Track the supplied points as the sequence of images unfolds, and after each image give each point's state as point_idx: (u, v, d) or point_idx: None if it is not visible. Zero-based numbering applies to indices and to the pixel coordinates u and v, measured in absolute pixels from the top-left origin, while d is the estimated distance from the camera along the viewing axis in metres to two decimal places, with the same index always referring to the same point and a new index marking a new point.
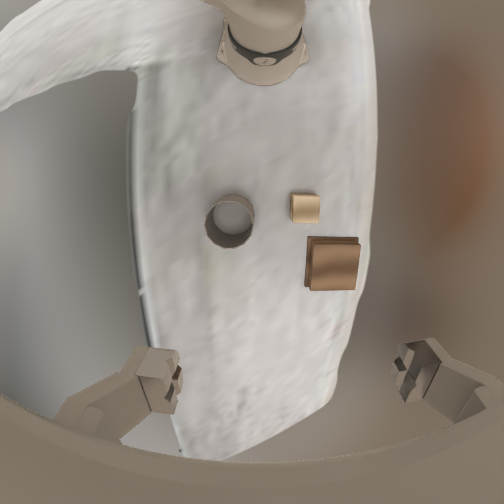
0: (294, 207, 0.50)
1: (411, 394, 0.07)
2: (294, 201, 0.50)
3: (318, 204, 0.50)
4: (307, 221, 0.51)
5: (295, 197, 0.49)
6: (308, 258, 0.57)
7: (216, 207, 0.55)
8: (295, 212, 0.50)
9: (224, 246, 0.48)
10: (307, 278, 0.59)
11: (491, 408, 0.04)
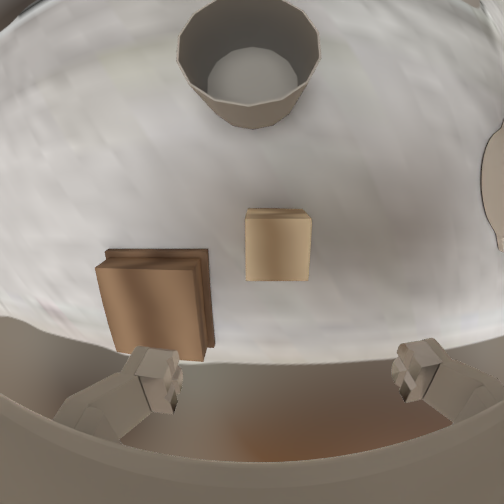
0: (284, 221, 0.20)
1: (411, 394, 0.07)
2: (298, 221, 0.20)
3: (290, 277, 0.22)
4: (248, 254, 0.21)
5: (308, 223, 0.20)
6: (160, 254, 0.26)
7: (270, 53, 0.20)
8: (271, 223, 0.20)
9: (184, 40, 0.13)
10: (121, 255, 0.26)
11: (491, 408, 0.04)
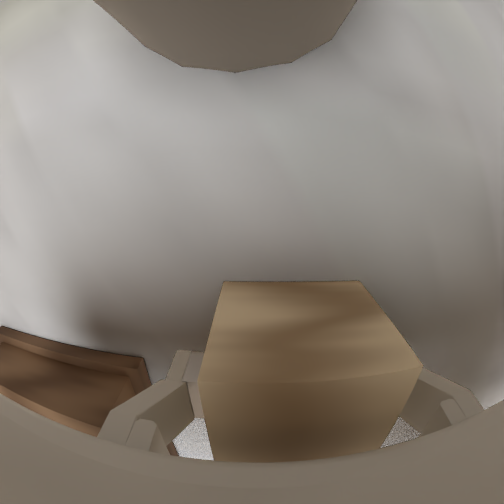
0: (339, 386, 0.05)
1: None
2: (383, 377, 0.05)
3: None
4: (220, 448, 0.06)
5: (409, 378, 0.05)
6: (62, 357, 0.10)
7: None
8: (293, 394, 0.05)
9: None
10: (12, 343, 0.10)
11: (491, 408, 0.04)
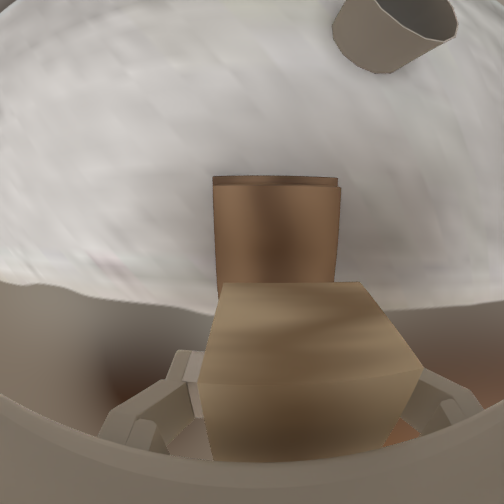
0: (340, 388, 0.05)
1: None
2: (383, 378, 0.05)
3: None
4: (220, 450, 0.06)
5: (410, 380, 0.05)
6: (287, 179, 0.23)
7: None
8: (293, 396, 0.05)
9: None
10: (235, 180, 0.24)
11: (491, 408, 0.04)
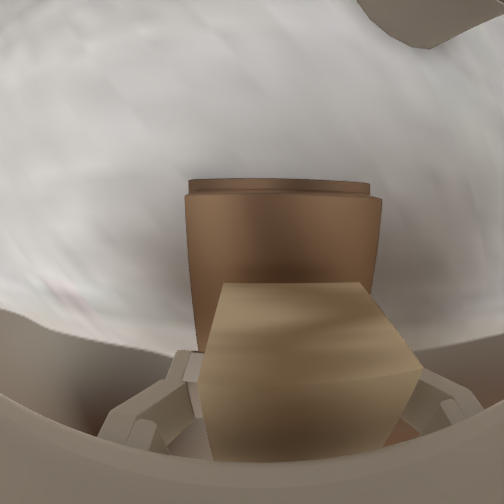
0: (339, 389, 0.05)
1: None
2: (383, 379, 0.05)
3: None
4: (220, 450, 0.06)
5: (410, 380, 0.05)
6: (299, 184, 0.16)
7: None
8: (293, 396, 0.05)
9: None
10: (222, 185, 0.16)
11: (491, 408, 0.04)
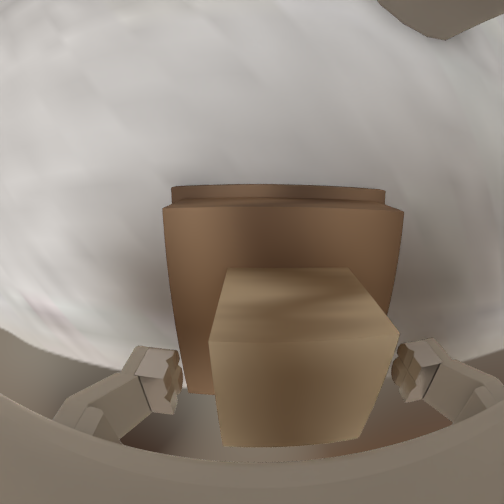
0: (326, 347, 0.06)
1: (411, 394, 0.07)
2: (364, 341, 0.06)
3: (323, 439, 0.08)
4: (225, 411, 0.07)
5: (388, 344, 0.06)
6: (302, 191, 0.13)
7: None
8: (288, 353, 0.06)
9: None
10: (210, 193, 0.13)
11: (491, 408, 0.04)
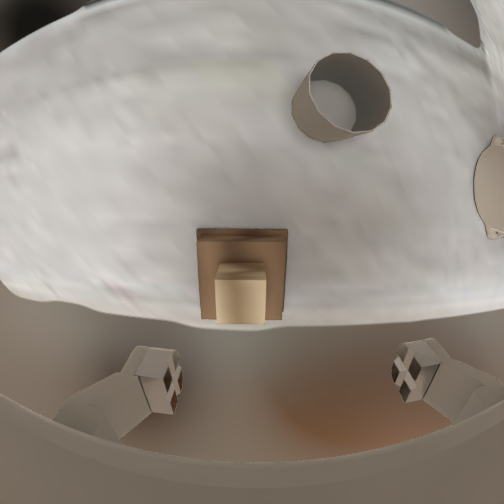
0: (244, 282, 0.27)
1: (411, 394, 0.07)
2: (255, 281, 0.27)
3: (251, 321, 0.28)
4: (218, 304, 0.27)
5: (263, 283, 0.27)
6: (250, 232, 0.34)
7: (337, 87, 0.28)
8: (234, 283, 0.27)
9: (308, 77, 0.21)
10: (213, 233, 0.33)
11: (491, 408, 0.04)
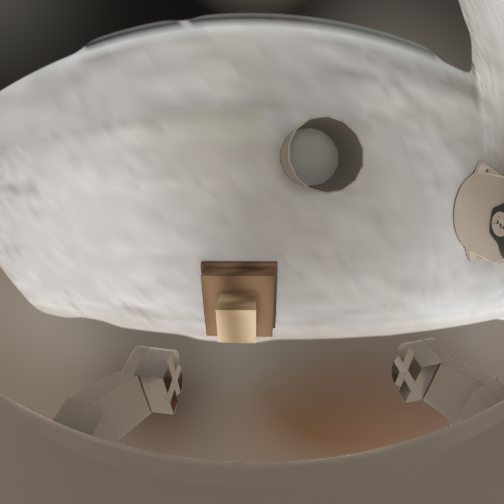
0: (239, 311, 0.33)
1: (411, 394, 0.07)
2: (247, 311, 0.33)
3: (245, 340, 0.35)
4: (218, 328, 0.34)
5: (253, 312, 0.33)
6: (245, 265, 0.40)
7: (322, 133, 0.34)
8: (231, 312, 0.33)
9: None
10: (214, 266, 0.40)
11: (491, 408, 0.04)
